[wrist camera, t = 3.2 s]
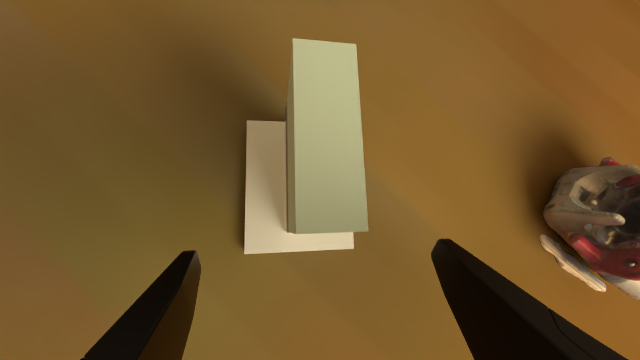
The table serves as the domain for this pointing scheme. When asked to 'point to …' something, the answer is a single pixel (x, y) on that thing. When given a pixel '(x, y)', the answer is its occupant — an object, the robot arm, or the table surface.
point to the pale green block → (324, 140)
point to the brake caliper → (598, 224)
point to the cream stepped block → (275, 196)
